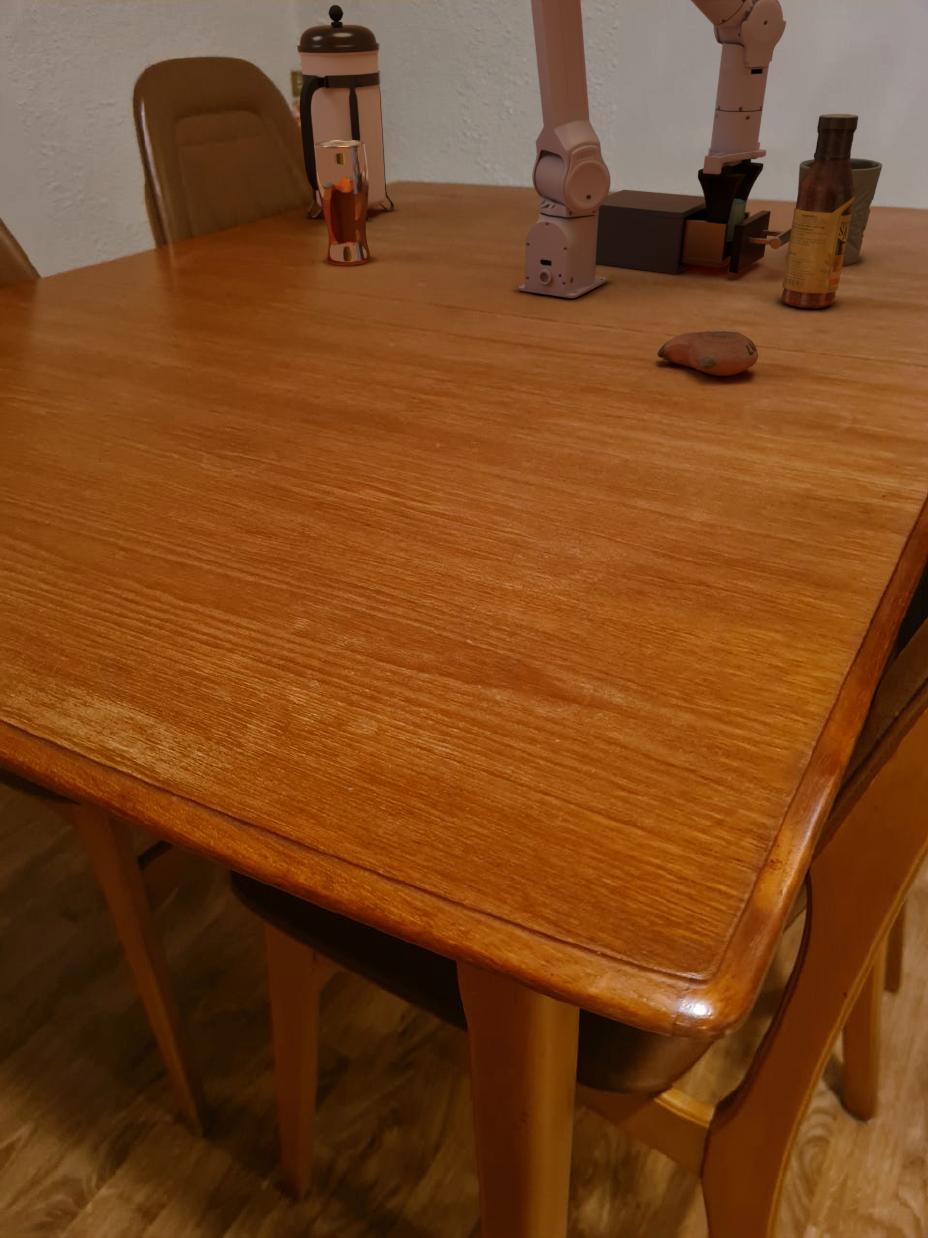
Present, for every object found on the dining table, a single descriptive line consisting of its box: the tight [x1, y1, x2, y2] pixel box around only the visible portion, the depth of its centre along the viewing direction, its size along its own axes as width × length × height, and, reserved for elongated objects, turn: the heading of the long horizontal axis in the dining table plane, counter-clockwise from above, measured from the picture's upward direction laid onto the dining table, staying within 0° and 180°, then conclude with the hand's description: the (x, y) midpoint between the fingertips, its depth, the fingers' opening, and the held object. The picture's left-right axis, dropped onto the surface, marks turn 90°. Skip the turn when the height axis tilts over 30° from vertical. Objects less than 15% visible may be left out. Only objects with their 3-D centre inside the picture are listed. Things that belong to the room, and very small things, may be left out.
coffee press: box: [296, 4, 395, 222], centre depth 153 cm, size 17×16×30 cm
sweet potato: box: [656, 329, 759, 377], centre depth 94 cm, size 9×4×8 cm
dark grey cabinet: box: [596, 189, 706, 275], centre depth 131 cm, size 14×12×8 cm
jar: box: [726, 198, 748, 242], centre depth 124 cm, size 5×5×4 cm
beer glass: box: [315, 140, 372, 267], centre depth 131 cm, size 7×7×15 cm
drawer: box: [679, 208, 791, 274], centre depth 126 cm, size 17×10×6 cm, turn 57°
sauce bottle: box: [781, 113, 859, 309], centre depth 108 cm, size 7×6×20 cm
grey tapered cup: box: [797, 157, 883, 266], centre depth 128 cm, size 10×10×12 cm
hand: (723, 226), depth 125 cm, fingers closed on jar, 4 cm apart
